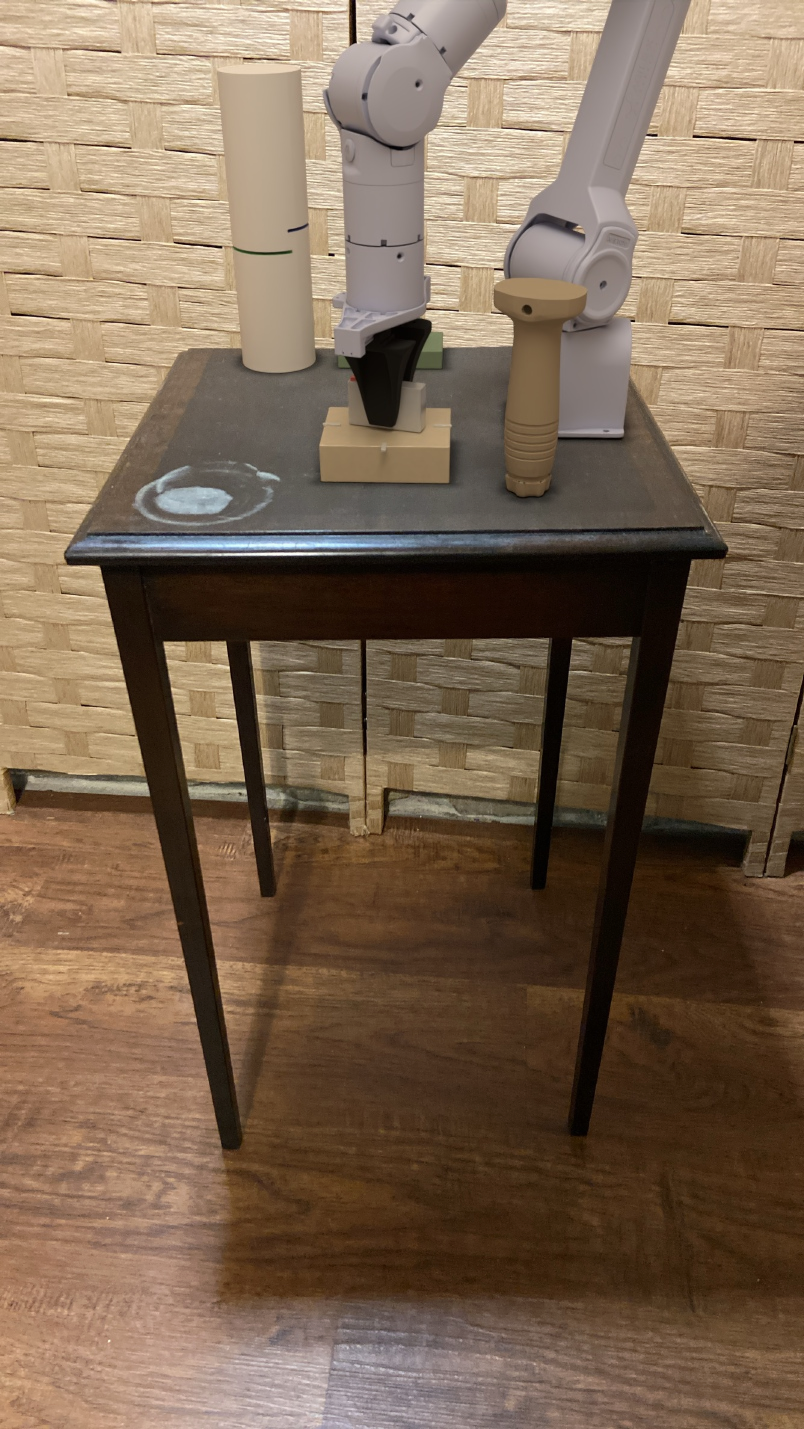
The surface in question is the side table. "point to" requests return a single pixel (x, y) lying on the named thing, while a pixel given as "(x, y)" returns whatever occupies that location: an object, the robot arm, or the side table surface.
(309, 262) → the cylindrical container
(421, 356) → the button block
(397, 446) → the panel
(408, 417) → the grey rectangular plate
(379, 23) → the robot arm
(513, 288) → the handle
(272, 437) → the side table surface
